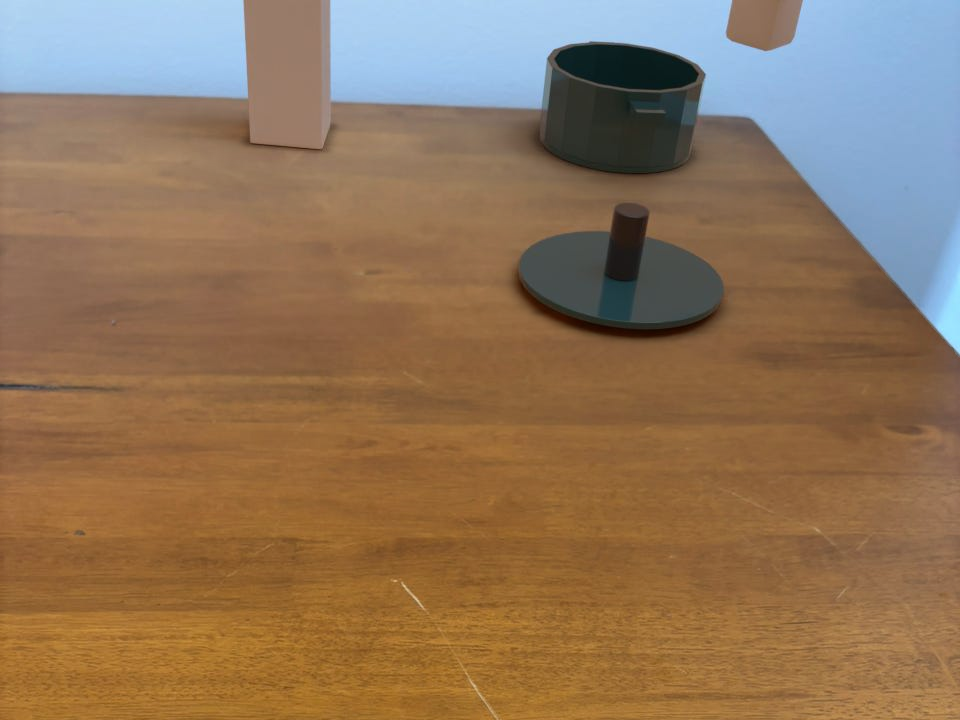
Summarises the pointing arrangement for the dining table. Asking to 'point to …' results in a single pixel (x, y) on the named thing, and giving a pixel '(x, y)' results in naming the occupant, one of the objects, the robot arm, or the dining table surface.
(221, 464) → the dining table surface
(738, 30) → the pepper shaker
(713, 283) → the lid
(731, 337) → the dining table surface
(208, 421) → the dining table surface
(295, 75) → the milk
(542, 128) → the pot
